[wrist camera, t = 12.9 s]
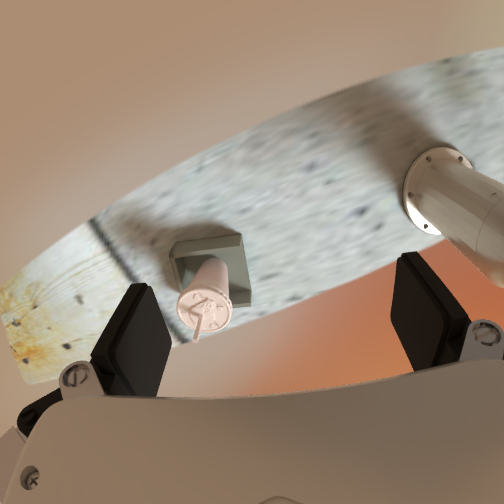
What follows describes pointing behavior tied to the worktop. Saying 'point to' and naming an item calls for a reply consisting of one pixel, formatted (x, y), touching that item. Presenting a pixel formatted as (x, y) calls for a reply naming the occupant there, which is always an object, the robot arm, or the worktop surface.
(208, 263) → the smoothie
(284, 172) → the worktop surface
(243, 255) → the bay
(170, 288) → the worktop surface
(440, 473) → the robot arm
